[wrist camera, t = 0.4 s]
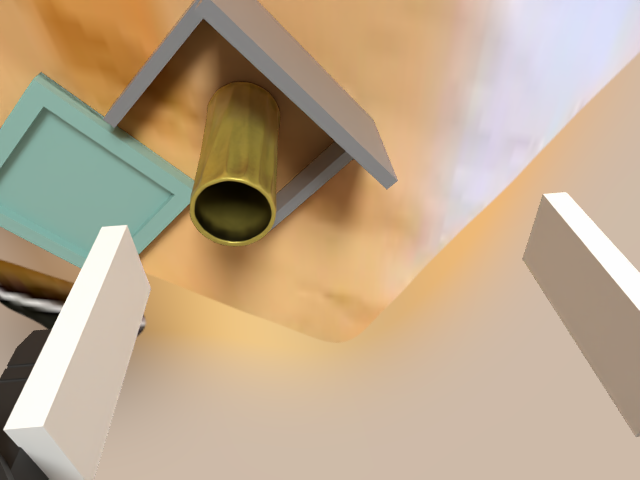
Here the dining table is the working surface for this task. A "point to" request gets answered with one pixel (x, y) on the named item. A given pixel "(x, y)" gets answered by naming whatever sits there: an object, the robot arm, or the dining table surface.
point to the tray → (80, 176)
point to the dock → (291, 78)
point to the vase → (237, 166)
